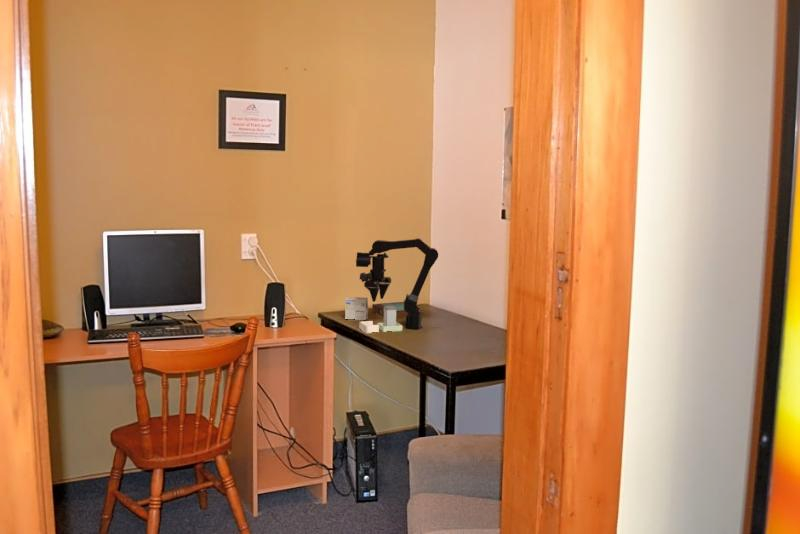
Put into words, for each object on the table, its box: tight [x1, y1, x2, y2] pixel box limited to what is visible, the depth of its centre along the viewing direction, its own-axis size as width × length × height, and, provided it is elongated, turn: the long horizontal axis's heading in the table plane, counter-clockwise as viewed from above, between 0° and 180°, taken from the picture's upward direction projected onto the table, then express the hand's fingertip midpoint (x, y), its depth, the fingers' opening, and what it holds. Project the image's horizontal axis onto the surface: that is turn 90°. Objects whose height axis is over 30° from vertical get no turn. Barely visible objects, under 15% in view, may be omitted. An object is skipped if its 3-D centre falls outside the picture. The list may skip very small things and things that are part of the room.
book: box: [371, 301, 422, 320], centre depth 368 cm, size 23×18×5 cm
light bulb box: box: [344, 296, 369, 321], centre depth 355 cm, size 11×7×11 cm, turn 84°
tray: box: [376, 321, 403, 333], centre depth 331 cm, size 9×9×2 cm
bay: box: [358, 320, 380, 334], centre depth 328 cm, size 6×10×4 cm, turn 20°
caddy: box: [383, 306, 397, 326], centre depth 331 cm, size 4×5×10 cm
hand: (377, 300), depth 335 cm, fingers open, 9 cm apart
